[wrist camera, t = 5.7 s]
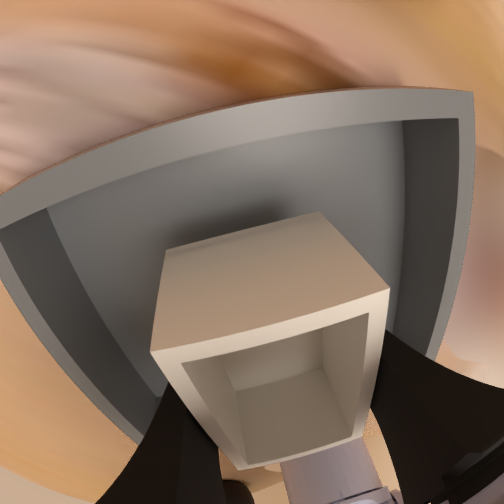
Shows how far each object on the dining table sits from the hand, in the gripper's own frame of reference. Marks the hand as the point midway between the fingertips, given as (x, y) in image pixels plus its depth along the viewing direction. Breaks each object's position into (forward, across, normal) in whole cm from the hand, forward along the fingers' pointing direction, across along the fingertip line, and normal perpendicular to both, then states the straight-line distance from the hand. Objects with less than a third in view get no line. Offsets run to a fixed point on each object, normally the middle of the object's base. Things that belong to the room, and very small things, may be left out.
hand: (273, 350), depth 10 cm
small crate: (+2, 0, 0) cm, 2 cm away
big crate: (+5, 0, 0) cm, 5 cm away
